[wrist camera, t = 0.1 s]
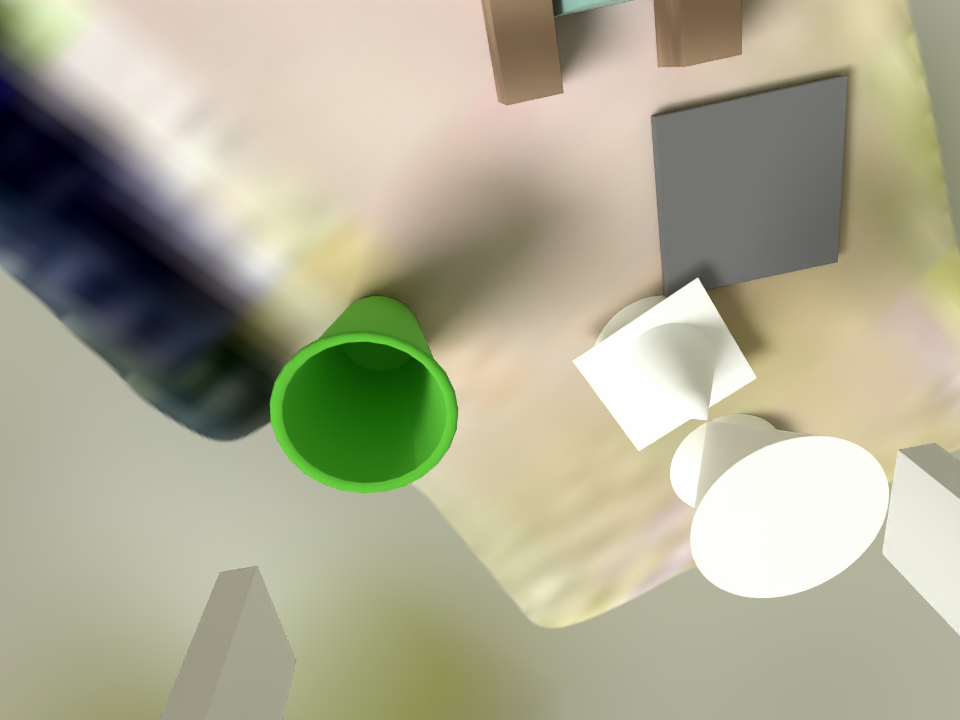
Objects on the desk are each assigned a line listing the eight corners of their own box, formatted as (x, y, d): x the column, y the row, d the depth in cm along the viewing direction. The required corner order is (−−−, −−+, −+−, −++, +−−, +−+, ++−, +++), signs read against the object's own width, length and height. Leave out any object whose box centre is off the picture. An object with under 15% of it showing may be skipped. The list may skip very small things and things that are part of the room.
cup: (388, 234, 38) (375, 294, 28) (477, 343, 41) (494, 431, 31) (277, 320, 39) (227, 405, 29) (371, 418, 43) (355, 523, 33)
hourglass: (804, 470, 48) (989, 665, 32) (699, 530, 50) (827, 744, 34) (684, 267, 40) (850, 394, 24) (565, 347, 42) (650, 513, 26)
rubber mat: (650, 116, 36) (655, 117, 35) (839, 75, 36) (847, 75, 35) (663, 293, 41) (668, 298, 40) (830, 258, 41) (837, 261, 40)
